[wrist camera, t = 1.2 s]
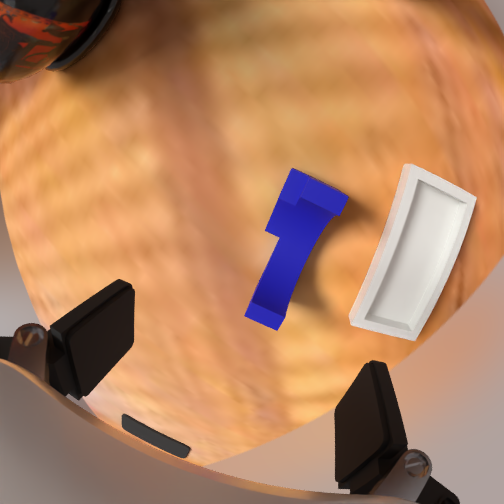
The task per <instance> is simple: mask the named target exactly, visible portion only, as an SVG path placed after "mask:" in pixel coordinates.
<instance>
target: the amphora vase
mask: <svg viewBox="0 0 504 504" xmlns="http://www.w3.org/2000/svg"><path fill="white" fill-rule="evenodd" d="M121 1H122V0H0V83H12V82H15V81H18V80H22V79H25V78H28V77H30V76H32V75H34V74H36V73H38V72H40V71H41V70H43V69H44V68H45V69H46V70H49V71H59V70H63V69H65V68H67V67H69V66H71V65H72V64H74V63H76V62H77V61H78V60H79V59H81V58H82V57H83V56H84V55H86V54H87V53H88V52H89V51H90V50H91V49H92V48H93V46H94V45H95V44H96V43H97V42H98V41H99V40H100V38H101V37H102V36H103V35H104V33H105V32H106V31H107V29H108V28H109V26H110V24H111V23H112V21H113V20H114V18H115V16H116V14H117V12H118V10H119V8H120V5H121Z"/></svg>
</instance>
